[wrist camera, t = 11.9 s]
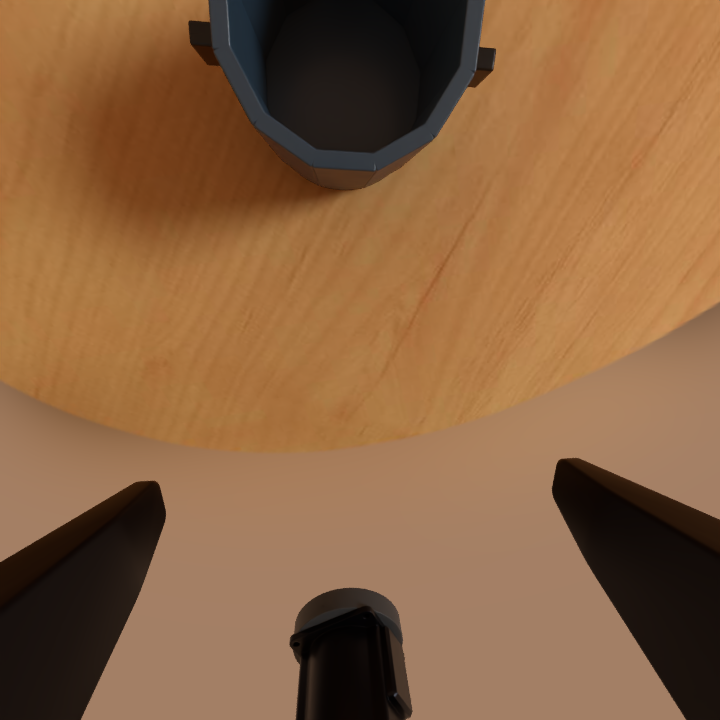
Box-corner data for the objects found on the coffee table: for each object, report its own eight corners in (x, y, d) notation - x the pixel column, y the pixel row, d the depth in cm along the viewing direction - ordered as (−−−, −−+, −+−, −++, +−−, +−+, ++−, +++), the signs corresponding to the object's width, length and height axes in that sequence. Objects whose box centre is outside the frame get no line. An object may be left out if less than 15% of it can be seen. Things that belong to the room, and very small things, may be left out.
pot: (497, 179, 11) (551, -155, 9) (180, 159, 10) (140, -212, 8) (437, 195, 18) (458, 7, 15) (239, 184, 17) (227, -16, 15)
